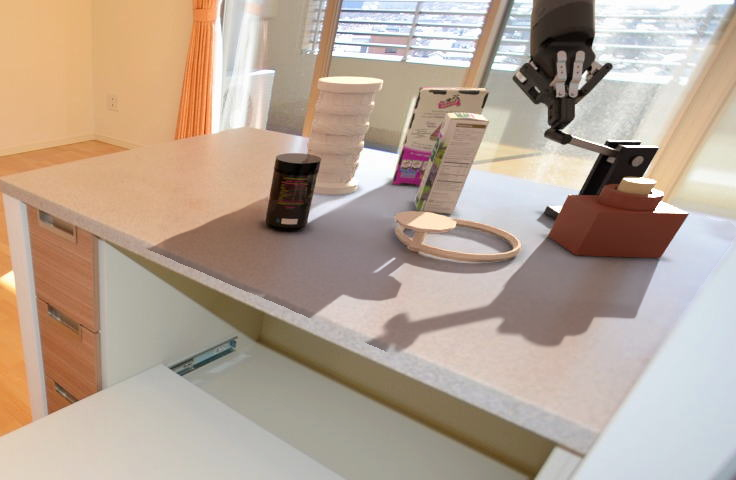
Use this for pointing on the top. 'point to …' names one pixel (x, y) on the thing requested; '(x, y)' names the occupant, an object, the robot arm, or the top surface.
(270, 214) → the supplement container
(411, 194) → the top surface
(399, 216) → the hand towel holder
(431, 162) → the syrup box
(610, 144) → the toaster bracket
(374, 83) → the decorative container
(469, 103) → the candy bar box
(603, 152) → the lever
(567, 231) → the box
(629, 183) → the button
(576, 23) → the robot arm
